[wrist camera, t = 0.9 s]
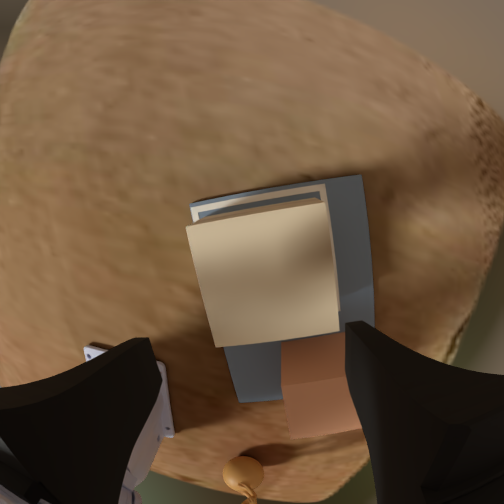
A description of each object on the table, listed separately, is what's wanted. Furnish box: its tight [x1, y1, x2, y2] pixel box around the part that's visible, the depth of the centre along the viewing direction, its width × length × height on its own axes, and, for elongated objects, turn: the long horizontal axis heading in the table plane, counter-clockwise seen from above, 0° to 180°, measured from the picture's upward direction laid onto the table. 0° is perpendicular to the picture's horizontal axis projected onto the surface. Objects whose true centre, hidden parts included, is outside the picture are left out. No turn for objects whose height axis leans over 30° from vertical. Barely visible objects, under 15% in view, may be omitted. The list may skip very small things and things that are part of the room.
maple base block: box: [186, 198, 340, 347], centre depth 17 cm, size 7×7×4 cm
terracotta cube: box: [281, 332, 362, 439], centre depth 18 cm, size 5×5×5 cm
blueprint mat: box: [189, 175, 375, 403], centre depth 20 cm, size 16×11×1 cm
